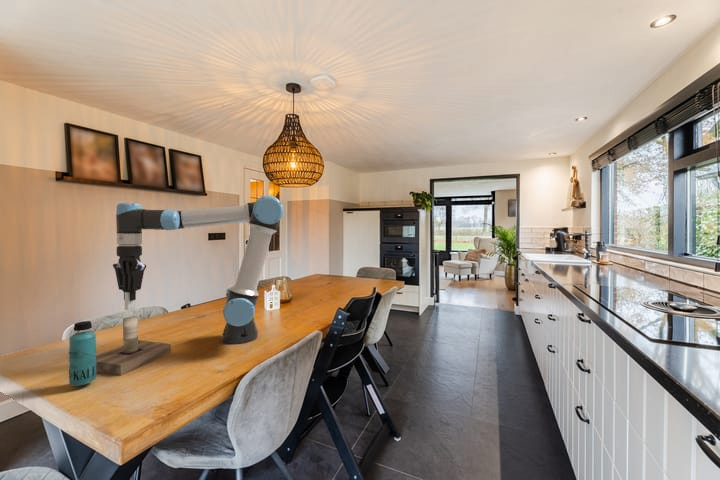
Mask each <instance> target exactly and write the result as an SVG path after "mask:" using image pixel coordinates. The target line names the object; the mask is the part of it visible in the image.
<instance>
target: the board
mask: <svg viewBox="0 0 720 480" xmlns="http://www.w3.org/2000/svg"><path fill="white" fill-rule="evenodd" d="M138 349H139V351H138V352H136V353H134V354H131V355H124V354H123V345H122V346H119V347H115V348H114V349H111V350H109V351H105V352H102V353H100V354H98V355H97V354H96V356H97V357H96V373H102V374H103V373H104V374H109V375H115V376H123V375H125V374H127V373H129V372H133V371H134V370H136V369H138V368H141V367H143V366H144V365H147V364H149V363H151V362H154V361H156V360H158V359H161V358H162V357H165V356H167V355H169V354H171V353H172V344H171V343H167V342H166V343H165V342H158V341H157V342H156V341H148V340H139V339H138Z"/></svg>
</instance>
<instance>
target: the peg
mask: <svg viewBox="0 0 720 480" xmlns="http://www.w3.org/2000/svg"><path fill="white" fill-rule="evenodd" d="M138 320H139V318H138V316H136V315H135V316H125V317H124V318H122V334H123V335H122V337H123V338H122V346H123V354H124V355H131V354H134V353H136V352H138V351H139V349H138V340H139V321H138Z"/></svg>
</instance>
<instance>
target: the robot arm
mask: <svg viewBox="0 0 720 480" xmlns="http://www.w3.org/2000/svg"><path fill="white" fill-rule="evenodd" d="M283 216H284V205H283V204H282V202H281V201H280V200H279V199H278V198H277V197H276V196H273V195H263V196H260V197H259V198H257V199H256V200H255V201H253V202H246V203H245V205H233V206H223V207H212V208H211V207H210V208H199V209H187V210H186V209H185V210H171V209H146V208H143V205H142V204H141V203H132V202H120V203H118V204H117V205H116V213H115V217H116V218H115V220H116V223H115V224H116V244H117V246H116V256H117V257H119V258H118V262H117V263H113V264H112V267H113V269H114V271H115V276H116V283H117V287H118V290H119V291H122V292H123V300H124V310H125V311H130V310H134V309H136V298H137V291H140V290H141V289H142V285H143V283H142V282H143V280H144V279H143V278H144V273H145V270H146V268H147V264H143V263H142V261H141V256H142V255H143V246H142V245H143V230H154V231H155V230H157V231H158V230H159V231H163V230H164V231H174V230H181V229H183V230H184V229H190V228H200V227H201V228H202V227H211V226H212V227H213V226H221V225H230V224H232V225H233V224H242V223H247V224H248V225H249V227H250V232H249V235H248V239H247V243H246V247H245V250H244V253H243V257H242V259H241V263H240V268H239V272H238V274H237V278H236V280H235V285H233V286H232V287H230V288H227V289H226V293H225V296H226V301H225V303H224V304H225V305H224V306H223V309H222V313H223V314H222V315H223V318H224V321H225V322H226V323H225V326H224V329H223V331H222V335H221V339H222V341H223V342H224V343H226V344H244V343H248V342H252V341H254V340H256V339H257V338H258V337H259V330H258V327H257V325H256V322H255V314H256V306H257V302H258V299H259V296H260V293H259V292H258V290H257V289H258V285H259V282H260V279H261V275H262V271H263V268H264V264H265V261H266V258H267V254H268V251H269V247H270V243H271V240H272V236H273V234H275V233H277V232H278V230H279V226H280V221H281V220H282V218H283Z"/></svg>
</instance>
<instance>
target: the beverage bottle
mask: <svg viewBox="0 0 720 480" xmlns="http://www.w3.org/2000/svg"><path fill="white" fill-rule="evenodd" d="M92 327H93V326H92V322H91V320H83V321H79V322H75V323H74V326H73V331H74V332H76V333H74V334H72V335H71V336H70V337H69V338H68V341H69V349H68V354H69V355H68V358H69V360H68V361H69V362H68V363H69V365H68V366H69V367H68V368H69V370H68V383H69V384H70V386H73V387H74V386H75V387H77V386H83V385H86V384H89V383H90V384H91V383H93V382H94V381H95V380H96V379H97V377H98V376H97V375H98V373H97V372H96V357H97V334H96V333H95V332H93V331H91V330H90V329H92Z"/></svg>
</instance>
